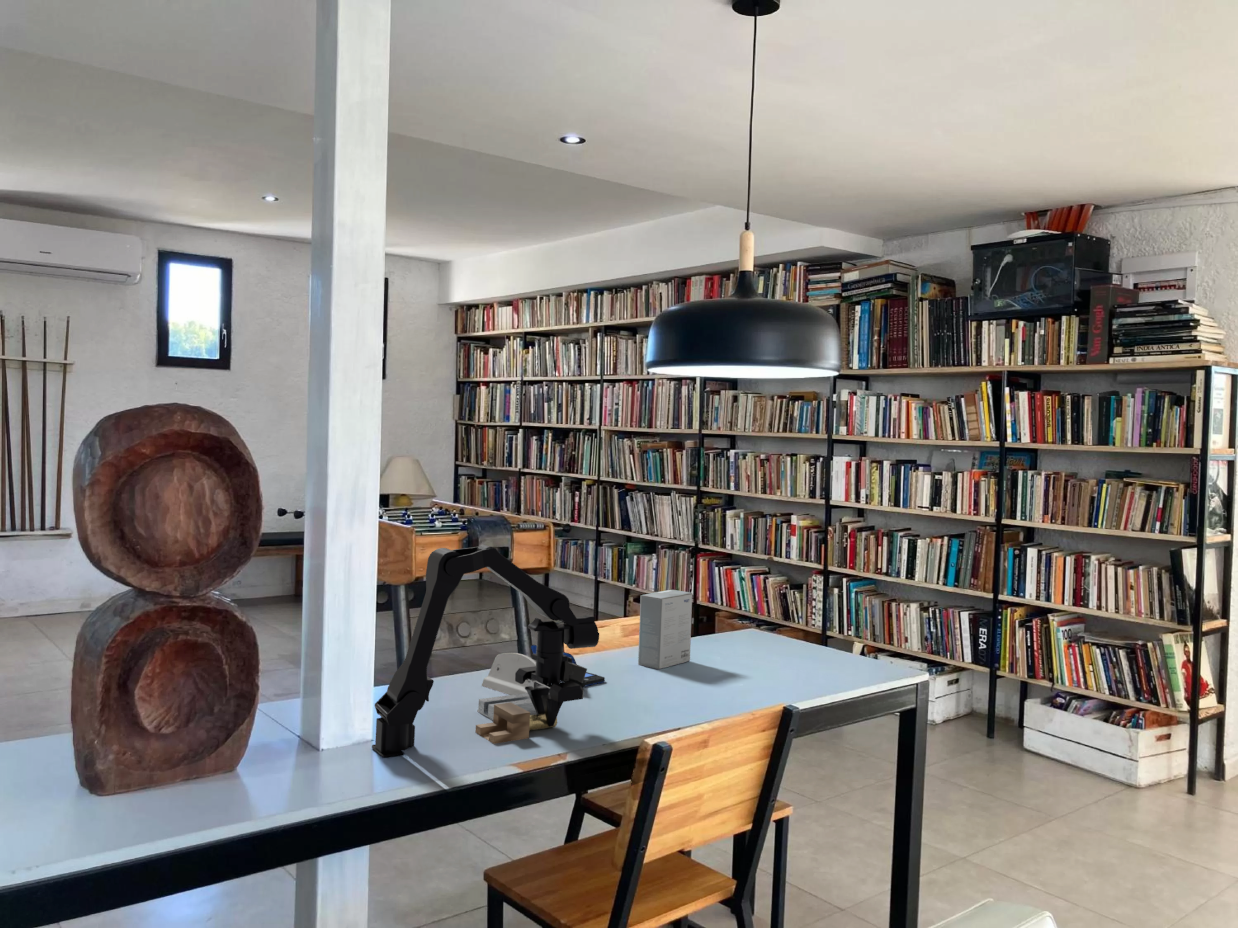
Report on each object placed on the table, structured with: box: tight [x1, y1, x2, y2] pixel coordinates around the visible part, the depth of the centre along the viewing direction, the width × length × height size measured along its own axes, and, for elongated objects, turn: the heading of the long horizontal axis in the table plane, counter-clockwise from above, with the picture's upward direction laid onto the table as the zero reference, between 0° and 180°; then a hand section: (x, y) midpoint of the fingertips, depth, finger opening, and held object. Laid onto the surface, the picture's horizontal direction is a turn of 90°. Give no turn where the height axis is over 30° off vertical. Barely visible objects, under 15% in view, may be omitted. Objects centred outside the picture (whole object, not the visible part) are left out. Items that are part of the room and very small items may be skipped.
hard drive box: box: [637, 589, 693, 670], centre depth 263 cm, size 16×8×20 cm, turn 141°
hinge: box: [481, 652, 536, 695], centre depth 226 cm, size 17×5×10 cm, turn 49°
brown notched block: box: [475, 702, 530, 745], centre depth 189 cm, size 8×8×6 cm
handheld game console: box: [530, 644, 606, 688], centre depth 239 cm, size 16×13×9 cm
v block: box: [477, 693, 537, 721], centre depth 204 cm, size 12×8×4 cm, turn 125°
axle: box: [529, 714, 558, 731], centre depth 193 cm, size 10×3×3 cm, turn 125°
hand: (546, 723), depth 195 cm, fingers closed on axle, 3 cm apart
